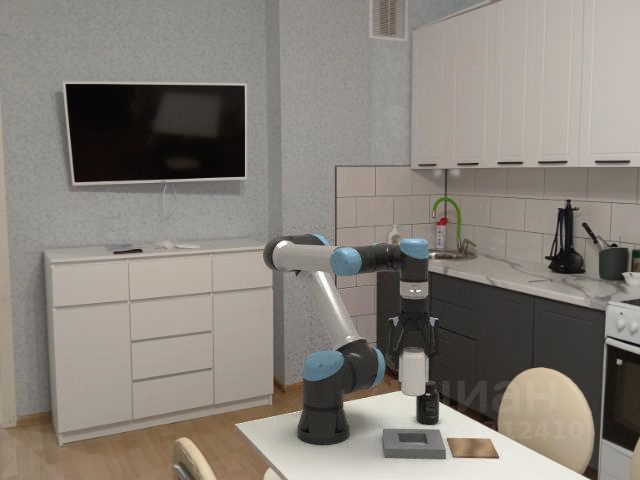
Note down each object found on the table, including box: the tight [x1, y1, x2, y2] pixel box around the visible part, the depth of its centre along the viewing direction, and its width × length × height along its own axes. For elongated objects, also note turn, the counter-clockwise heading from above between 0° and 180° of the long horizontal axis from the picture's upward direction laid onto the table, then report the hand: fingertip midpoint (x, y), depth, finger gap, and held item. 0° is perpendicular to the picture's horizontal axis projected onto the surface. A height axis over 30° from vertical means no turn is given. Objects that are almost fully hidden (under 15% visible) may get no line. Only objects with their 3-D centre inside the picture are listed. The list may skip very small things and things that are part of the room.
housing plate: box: [382, 428, 447, 460], centre depth 178 cm, size 16×14×2 cm
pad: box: [446, 437, 500, 459], centre depth 177 cm, size 12×12×1 cm
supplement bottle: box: [415, 379, 440, 426], centre depth 197 cm, size 7×7×12 cm
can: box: [400, 346, 427, 397], centre depth 176 cm, size 6×6×12 cm
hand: (413, 380), depth 177 cm, fingers closed on can, 6 cm apart
